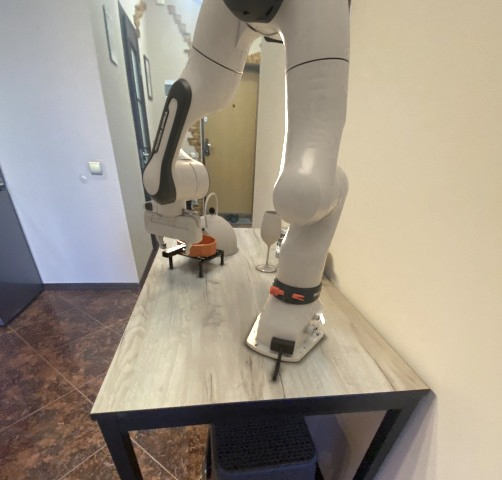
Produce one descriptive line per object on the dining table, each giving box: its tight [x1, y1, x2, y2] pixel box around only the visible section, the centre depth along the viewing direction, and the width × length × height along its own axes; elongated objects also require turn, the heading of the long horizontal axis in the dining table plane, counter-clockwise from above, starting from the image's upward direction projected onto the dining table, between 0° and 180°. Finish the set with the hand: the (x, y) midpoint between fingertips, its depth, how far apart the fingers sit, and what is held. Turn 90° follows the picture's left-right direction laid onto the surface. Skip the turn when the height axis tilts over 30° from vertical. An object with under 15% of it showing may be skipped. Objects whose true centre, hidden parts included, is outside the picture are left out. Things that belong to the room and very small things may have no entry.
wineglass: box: [256, 210, 282, 273], centre depth 107 cm, size 8×8×21 cm
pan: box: [161, 234, 216, 259], centre depth 101 cm, size 25×14×4 cm, turn 155°
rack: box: [168, 249, 225, 278], centre depth 107 cm, size 16×14×6 cm
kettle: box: [200, 192, 238, 258], centre depth 121 cm, size 25×23×23 cm
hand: (174, 251), depth 94 cm, fingers open, 8 cm apart
